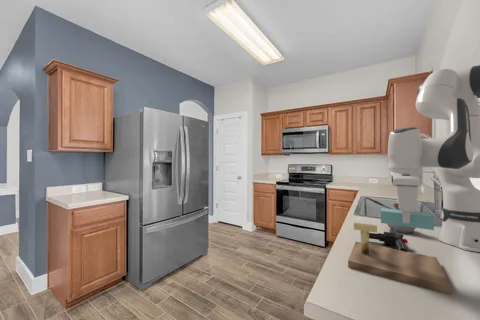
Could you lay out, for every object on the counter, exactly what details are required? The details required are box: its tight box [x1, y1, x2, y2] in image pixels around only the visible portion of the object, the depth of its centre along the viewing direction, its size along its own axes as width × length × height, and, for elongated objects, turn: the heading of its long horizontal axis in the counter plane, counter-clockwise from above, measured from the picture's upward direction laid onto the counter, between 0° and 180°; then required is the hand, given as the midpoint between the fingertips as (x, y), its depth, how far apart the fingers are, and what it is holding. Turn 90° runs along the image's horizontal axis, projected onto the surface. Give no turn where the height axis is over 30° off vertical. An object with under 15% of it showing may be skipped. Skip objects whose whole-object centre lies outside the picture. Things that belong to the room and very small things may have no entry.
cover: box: [380, 207, 435, 231], centre depth 68 cm, size 13×5×4 cm, turn 55°
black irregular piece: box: [369, 228, 409, 252], centre depth 87 cm, size 5×20×15 cm
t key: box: [353, 222, 378, 254], centre depth 77 cm, size 8×7×10 cm
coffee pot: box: [364, 196, 416, 234], centre depth 108 cm, size 21×12×15 cm, turn 49°
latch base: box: [347, 241, 452, 294], centre depth 69 cm, size 24×20×2 cm
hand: (405, 220), depth 68 cm, fingers closed on cover, 5 cm apart
